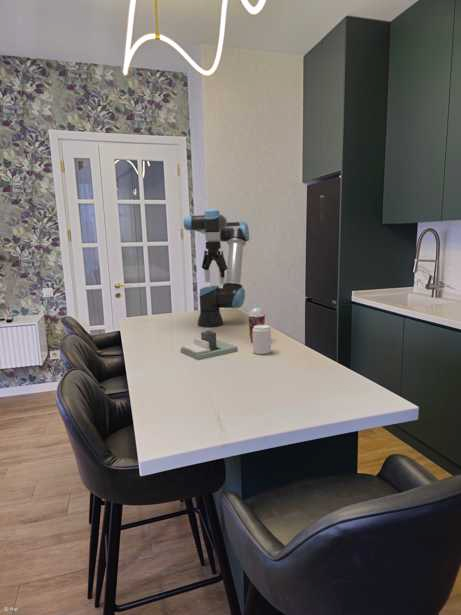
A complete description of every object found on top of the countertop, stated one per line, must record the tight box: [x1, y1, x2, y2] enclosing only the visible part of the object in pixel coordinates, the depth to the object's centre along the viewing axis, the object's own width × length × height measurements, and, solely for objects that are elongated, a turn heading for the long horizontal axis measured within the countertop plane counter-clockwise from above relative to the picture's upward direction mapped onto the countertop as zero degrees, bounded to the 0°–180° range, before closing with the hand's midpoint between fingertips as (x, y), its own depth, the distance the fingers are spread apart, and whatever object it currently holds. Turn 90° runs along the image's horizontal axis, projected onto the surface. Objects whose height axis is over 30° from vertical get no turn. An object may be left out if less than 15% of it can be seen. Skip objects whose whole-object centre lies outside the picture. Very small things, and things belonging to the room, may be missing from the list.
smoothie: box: [247, 301, 266, 343], centre depth 198 cm, size 8×8×20 cm
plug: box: [200, 327, 217, 351], centre depth 184 cm, size 5×5×11 cm
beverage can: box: [252, 324, 272, 355], centre depth 180 cm, size 8×8×12 cm
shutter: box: [181, 337, 210, 354], centre depth 180 cm, size 7×13×4 cm, turn 35°
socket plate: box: [180, 339, 239, 361], centre depth 184 cm, size 21×16×2 cm
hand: (214, 283), depth 204 cm, fingers open, 13 cm apart
